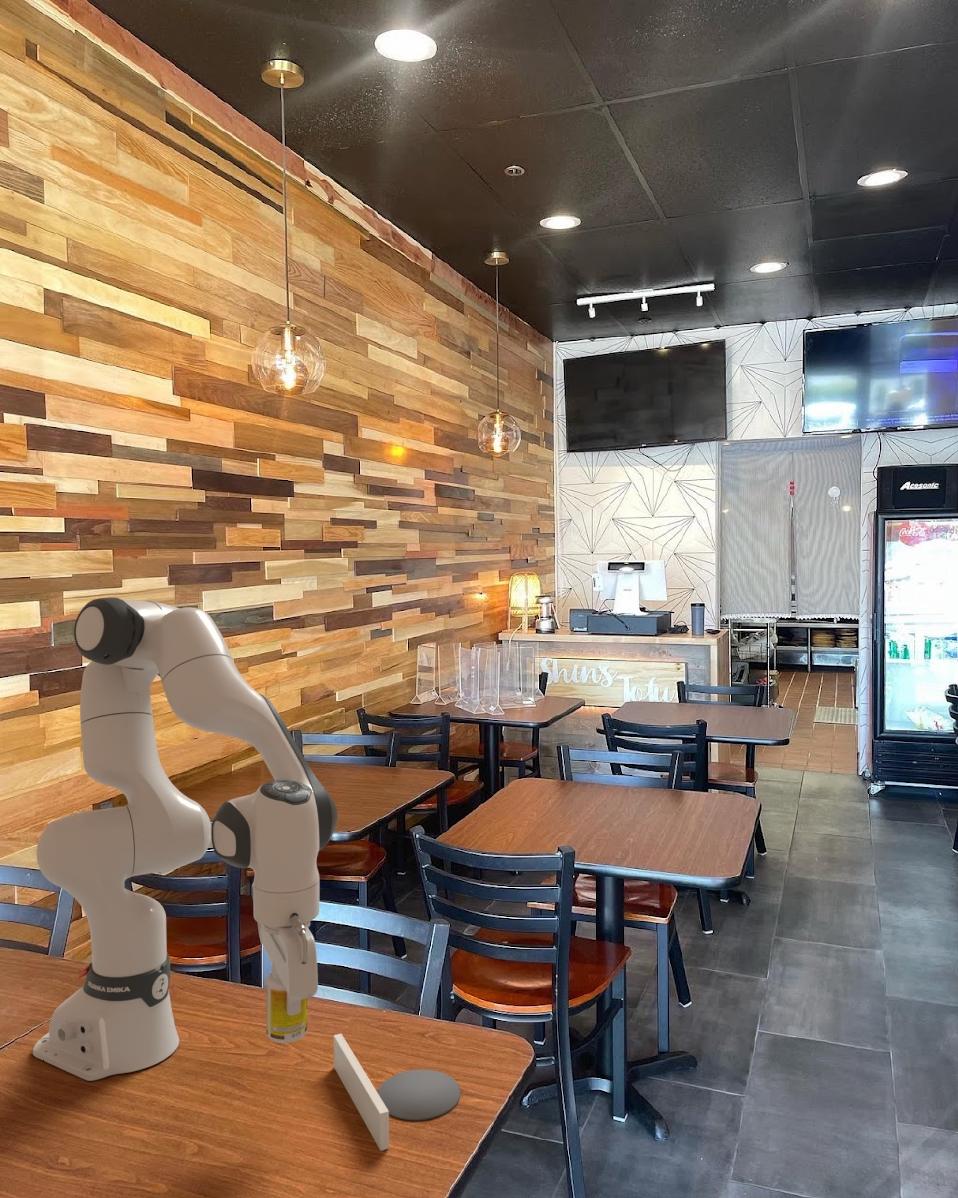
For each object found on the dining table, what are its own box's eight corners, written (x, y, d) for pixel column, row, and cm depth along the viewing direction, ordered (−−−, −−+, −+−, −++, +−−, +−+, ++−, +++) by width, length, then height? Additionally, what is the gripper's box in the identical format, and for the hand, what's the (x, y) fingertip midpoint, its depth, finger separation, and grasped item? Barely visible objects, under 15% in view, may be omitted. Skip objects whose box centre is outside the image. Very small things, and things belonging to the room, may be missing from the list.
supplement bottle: (314, 1036, 125) (314, 964, 124) (276, 1049, 122) (276, 975, 121) (296, 1019, 129) (296, 949, 129) (259, 1031, 126) (259, 959, 125)
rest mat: (362, 1110, 129) (362, 1107, 129) (398, 1066, 140) (398, 1063, 140) (441, 1128, 124) (441, 1125, 124) (472, 1081, 136) (472, 1078, 136)
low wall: (389, 1148, 120) (388, 1111, 120) (380, 1151, 120) (380, 1113, 119) (341, 1065, 140) (341, 1033, 140) (334, 1067, 140) (333, 1035, 139)
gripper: (329, 927, 116) (329, 1032, 117) (292, 874, 135) (292, 965, 136) (280, 935, 114) (280, 1043, 114) (249, 880, 132) (249, 973, 133)
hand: (287, 1000), depth 125 cm, fingers closed on supplement bottle, 5 cm apart
